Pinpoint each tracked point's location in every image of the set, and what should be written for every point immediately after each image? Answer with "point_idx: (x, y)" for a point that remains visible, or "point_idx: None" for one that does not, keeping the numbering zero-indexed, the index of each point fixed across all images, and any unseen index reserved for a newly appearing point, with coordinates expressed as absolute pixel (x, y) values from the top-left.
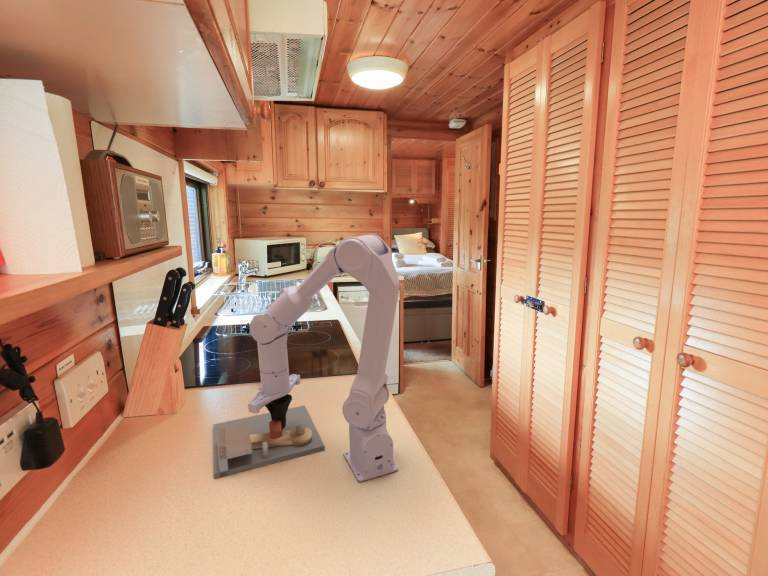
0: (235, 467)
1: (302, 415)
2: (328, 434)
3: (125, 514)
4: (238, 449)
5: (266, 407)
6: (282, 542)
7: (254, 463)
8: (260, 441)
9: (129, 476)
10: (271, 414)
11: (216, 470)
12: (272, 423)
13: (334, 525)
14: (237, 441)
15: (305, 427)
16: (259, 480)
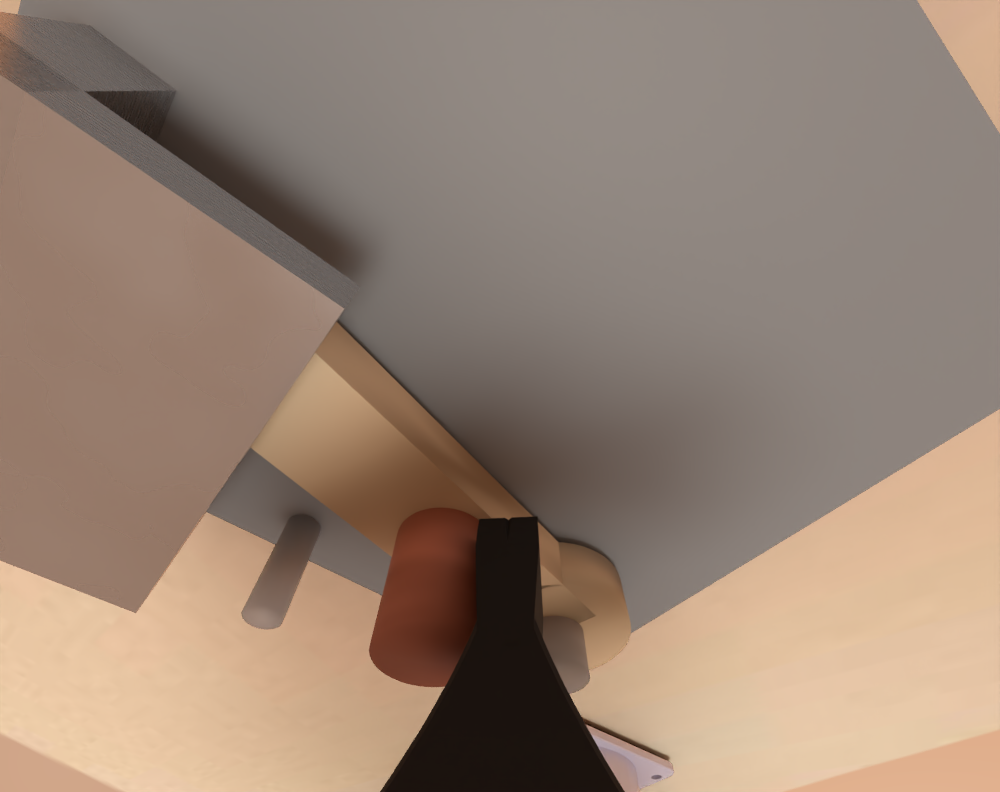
0: None
1: (888, 428)
2: (696, 612)
3: None
4: (35, 552)
5: (405, 757)
6: (108, 738)
7: (214, 514)
8: (318, 498)
9: None
10: (472, 644)
11: None
12: (401, 649)
13: (258, 784)
14: (69, 475)
15: (629, 624)
16: (195, 561)
